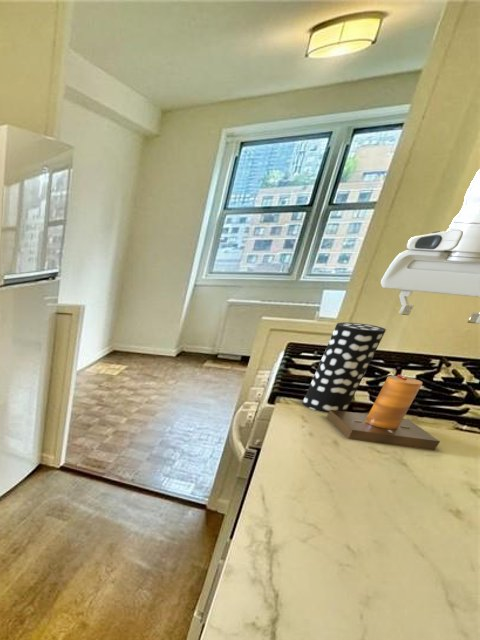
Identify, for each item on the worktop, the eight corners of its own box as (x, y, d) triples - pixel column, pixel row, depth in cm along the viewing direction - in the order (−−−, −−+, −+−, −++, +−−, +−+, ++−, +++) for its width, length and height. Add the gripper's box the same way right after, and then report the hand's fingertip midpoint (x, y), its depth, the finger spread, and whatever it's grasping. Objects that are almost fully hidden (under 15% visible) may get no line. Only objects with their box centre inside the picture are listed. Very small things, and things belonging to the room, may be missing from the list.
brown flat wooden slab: (402, 429, 107) (408, 418, 106) (433, 452, 97) (440, 440, 96) (325, 419, 112) (330, 408, 111) (347, 440, 102) (352, 429, 101)
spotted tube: (316, 400, 123) (352, 321, 113) (353, 413, 116) (395, 329, 106) (293, 404, 120) (328, 323, 111) (329, 417, 113) (370, 332, 104)
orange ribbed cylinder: (403, 430, 101) (429, 384, 96) (371, 426, 102) (395, 380, 98) (391, 421, 105) (415, 376, 100) (360, 417, 107) (383, 373, 102)
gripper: (571, 243, 81) (521, 326, 88) (405, 237, 96) (372, 308, 102) (571, 245, 78) (518, 331, 84) (398, 238, 92) (364, 312, 99)
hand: (437, 318), depth 93 cm, fingers open, 8 cm apart
